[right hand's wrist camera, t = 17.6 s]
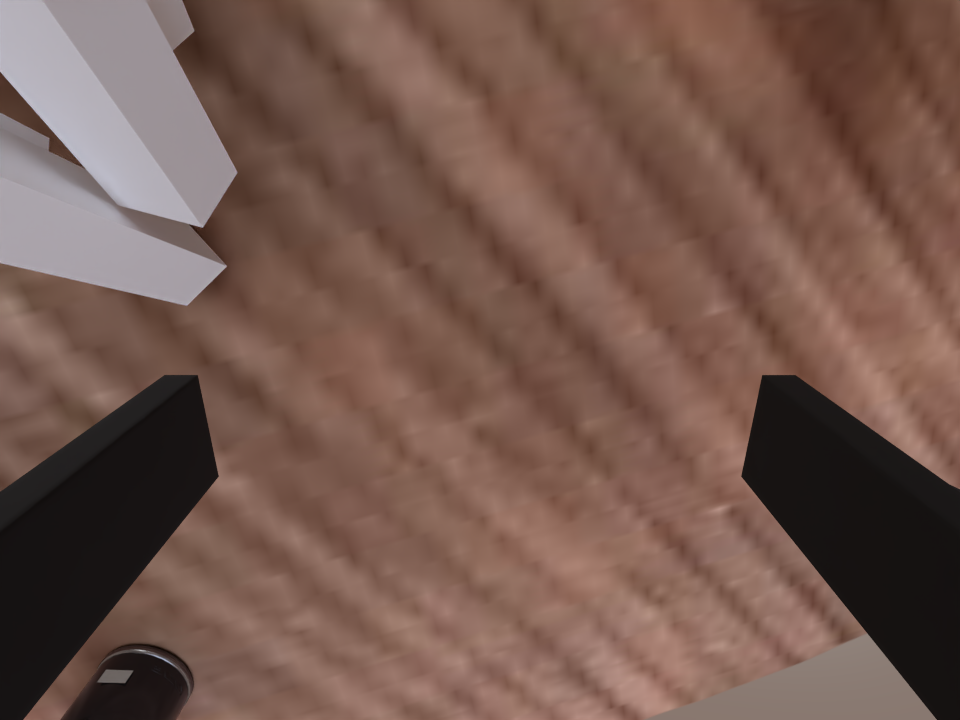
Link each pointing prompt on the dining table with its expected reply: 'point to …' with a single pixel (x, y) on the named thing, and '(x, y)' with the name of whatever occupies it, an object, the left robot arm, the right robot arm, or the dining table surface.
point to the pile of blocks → (108, 148)
